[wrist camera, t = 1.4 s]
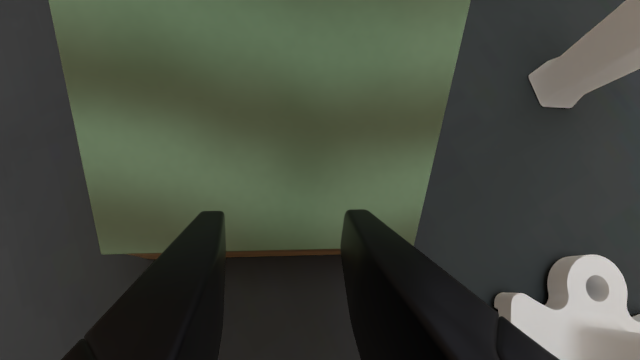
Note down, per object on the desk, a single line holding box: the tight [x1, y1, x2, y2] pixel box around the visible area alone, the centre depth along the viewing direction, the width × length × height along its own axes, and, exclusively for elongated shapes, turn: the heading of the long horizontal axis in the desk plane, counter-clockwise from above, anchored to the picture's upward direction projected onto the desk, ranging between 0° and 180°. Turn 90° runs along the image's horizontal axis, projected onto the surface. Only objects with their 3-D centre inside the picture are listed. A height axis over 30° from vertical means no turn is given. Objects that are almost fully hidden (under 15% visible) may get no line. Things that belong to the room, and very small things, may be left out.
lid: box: [49, 0, 471, 254], centre depth 15 cm, size 12×13×1 cm
